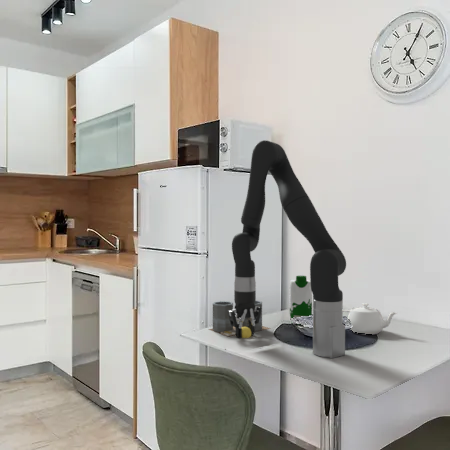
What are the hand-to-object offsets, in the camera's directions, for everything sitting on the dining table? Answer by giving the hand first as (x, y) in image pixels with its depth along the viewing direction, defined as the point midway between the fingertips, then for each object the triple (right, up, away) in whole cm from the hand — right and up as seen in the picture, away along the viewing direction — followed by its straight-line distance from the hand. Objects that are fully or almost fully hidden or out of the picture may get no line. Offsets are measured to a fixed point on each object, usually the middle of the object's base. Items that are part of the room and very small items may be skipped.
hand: (244, 336), depth 167 cm
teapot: (+46, -1, +11) cm, 48 cm away
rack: (-2, -1, +11) cm, 11 cm away
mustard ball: (0, -1, 0) cm, 1 cm away
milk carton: (+23, -1, +21) cm, 31 cm away
